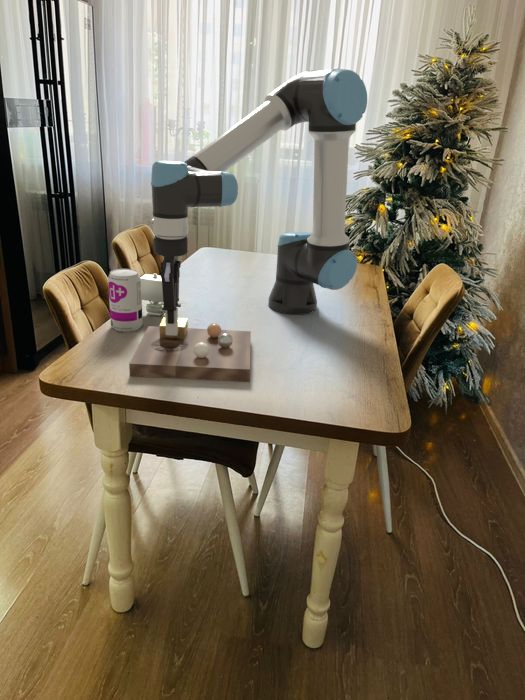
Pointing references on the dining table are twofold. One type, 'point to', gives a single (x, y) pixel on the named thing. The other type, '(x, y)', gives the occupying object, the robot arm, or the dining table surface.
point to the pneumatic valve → (152, 294)
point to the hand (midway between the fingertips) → (171, 334)
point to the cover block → (181, 328)
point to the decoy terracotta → (214, 330)
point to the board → (192, 356)
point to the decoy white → (201, 350)
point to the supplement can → (125, 300)
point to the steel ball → (225, 340)
